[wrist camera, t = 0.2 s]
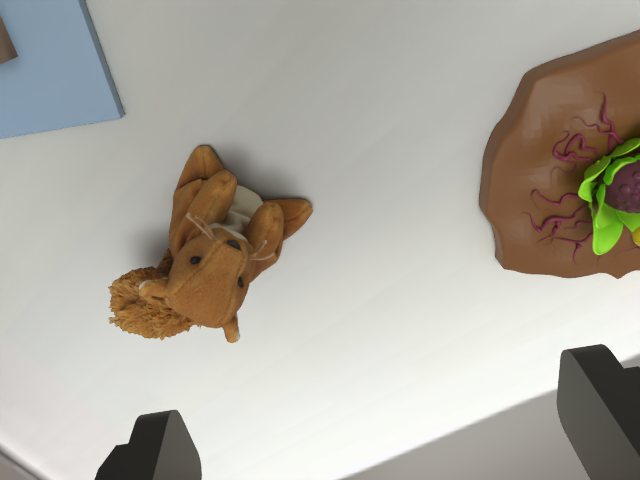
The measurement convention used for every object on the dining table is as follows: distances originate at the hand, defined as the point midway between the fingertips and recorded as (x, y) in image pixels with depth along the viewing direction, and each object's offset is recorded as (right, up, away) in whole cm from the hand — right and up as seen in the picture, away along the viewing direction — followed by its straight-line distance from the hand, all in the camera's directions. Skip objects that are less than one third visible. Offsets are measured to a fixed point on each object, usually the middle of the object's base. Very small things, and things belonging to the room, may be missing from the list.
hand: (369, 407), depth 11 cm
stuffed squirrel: (-9, +5, +31) cm, 33 cm away
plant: (+21, +10, +30) cm, 38 cm away
